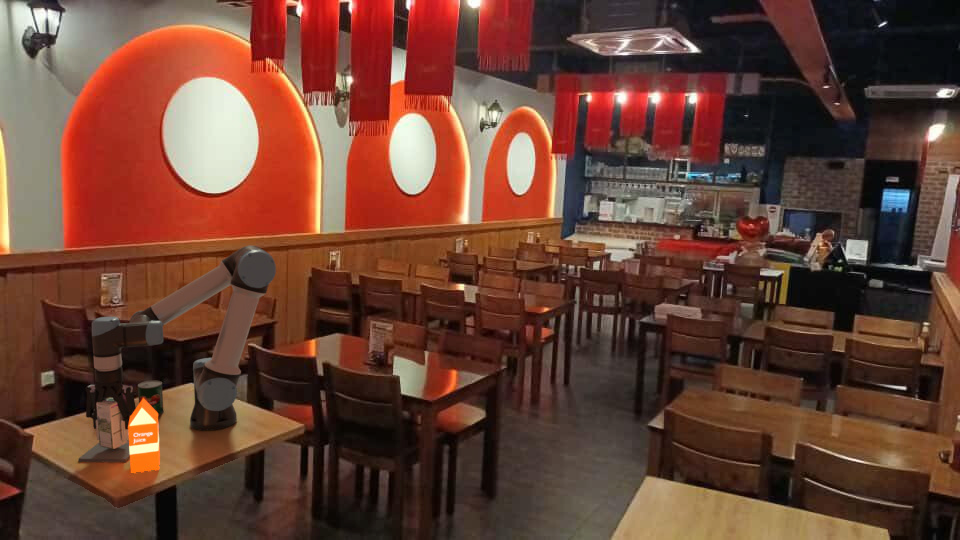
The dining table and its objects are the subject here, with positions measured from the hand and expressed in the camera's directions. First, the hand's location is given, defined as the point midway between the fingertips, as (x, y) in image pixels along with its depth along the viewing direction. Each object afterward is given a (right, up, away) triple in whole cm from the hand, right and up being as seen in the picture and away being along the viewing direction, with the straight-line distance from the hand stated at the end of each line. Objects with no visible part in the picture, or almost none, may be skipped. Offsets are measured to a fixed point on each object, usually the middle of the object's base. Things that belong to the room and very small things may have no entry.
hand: (113, 438), depth 212 cm
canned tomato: (-4, +1, +33) cm, 33 cm away
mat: (0, -4, +1) cm, 5 cm away
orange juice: (+14, -6, -8) cm, 17 cm away
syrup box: (0, -2, 0) cm, 2 cm away
